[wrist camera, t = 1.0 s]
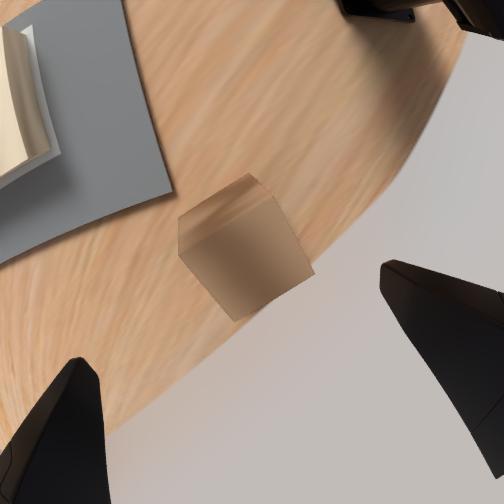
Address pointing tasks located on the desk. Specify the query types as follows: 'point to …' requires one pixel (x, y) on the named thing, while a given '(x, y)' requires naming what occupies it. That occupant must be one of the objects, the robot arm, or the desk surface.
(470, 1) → the robot arm
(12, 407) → the desk surface
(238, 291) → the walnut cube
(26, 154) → the maple slab
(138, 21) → the desk surface
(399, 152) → the desk surface
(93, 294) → the desk surface
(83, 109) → the build mat
